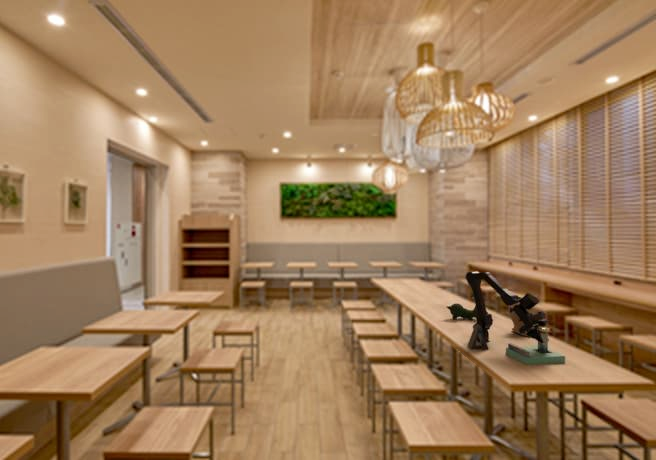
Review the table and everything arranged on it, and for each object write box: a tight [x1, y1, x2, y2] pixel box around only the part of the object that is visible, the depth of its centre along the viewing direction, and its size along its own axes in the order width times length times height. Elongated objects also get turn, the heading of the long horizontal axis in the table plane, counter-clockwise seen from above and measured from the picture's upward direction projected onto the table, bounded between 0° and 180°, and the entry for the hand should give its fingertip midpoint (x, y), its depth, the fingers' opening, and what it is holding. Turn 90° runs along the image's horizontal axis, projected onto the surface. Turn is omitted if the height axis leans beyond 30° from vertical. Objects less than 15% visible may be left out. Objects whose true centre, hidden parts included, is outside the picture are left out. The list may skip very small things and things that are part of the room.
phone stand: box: [467, 323, 490, 351], centre depth 205 cm, size 9×6×12 cm, turn 88°
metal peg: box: [537, 326, 551, 354], centre depth 189 cm, size 6×6×13 cm
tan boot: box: [509, 312, 529, 337], centre depth 232 cm, size 15×12×15 cm
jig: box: [505, 343, 566, 365], centre depth 189 cm, size 20×16×5 cm
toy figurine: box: [445, 294, 477, 321], centre depth 270 cm, size 9×19×25 cm
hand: (545, 341), depth 188 cm, fingers closed on metal peg, 5 cm apart
